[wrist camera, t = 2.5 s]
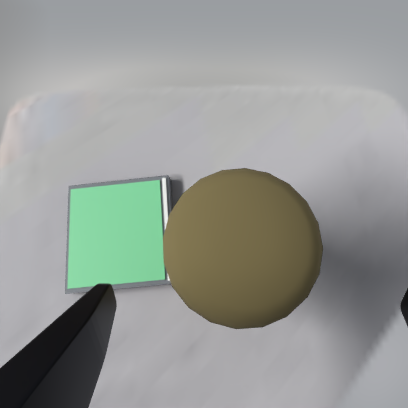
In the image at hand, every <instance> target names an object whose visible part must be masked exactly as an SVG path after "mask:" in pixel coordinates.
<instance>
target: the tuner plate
mask: <svg viewBox="0 0 408 408" xmlns="http://www.w3.org/2000/svg"><path fill="white" fill-rule="evenodd" d="M171 211H172V198H171V183H170V178H169V176H168V175H167V176H158V177H148V178H139V179H130V180H120V181H111V182H101V183H92V184H82V185H73V186H69V193H68V222H67V251H66V279H65V294H69V293H80V292H88V291H89V290H90V289H91V288H93V287H94V286H95V285H96V284H99V283H109V284H111V285H112V287H113V289H122V288H133V287H143V286H154V285H164V284H171V282H170V279H169V276H168V274H167V271H166V268H165V265H164V259H163V236H164V232H165V229H166V225H167V221H168V218H169V214H170V212H171Z"/></svg>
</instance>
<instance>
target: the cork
mask: <svg viewBox="0 0 408 408" xmlns="http://www.w3.org/2000/svg"><path fill="white" fill-rule="evenodd" d="M322 251H323V246H322V241H321V235H320V230H319V224H318V222H317V220H316V218H315V216H314V214H313V212H312V211H311V209H310V207H309V205H308V203H307V201H306V200H305V199H304V198H303V197H302V196H301V195H300V194H299V193H298V192H297V191H296V190H295V189H294V188H293V187H292V186H291V185H290V184H288V183H286V182H284V181H282V180H280V179H279V178H277V177H275V176H273V175H271V174H269V173H266V172H261V171H256V170H251V169H246V168H242V169H231V170H222V171H219V172H217V173H214V174H212V175H209V176H207V177H204V178H202V179H200V180H199V181H198V182H196V183H195V184H194V185H193V186H191V187H190V188H189V189H188V190H187V191H185V192H184V193H183V194H182V196H181V197H180V199H179V200H178V202H177V203H176V205H175V206H174V208H173V209H172V211H171V212H170V214H169V218H168V221H167V225H166V229H165V232H164V236H163V259H164V265H165V268H166V271H167V274H168V276H169V279H170V282H171V285H172V287H173V288H174V290H175V291H176V292H177V293H178V295H179V296H180V297H181V299H182V300H183V301H184V302H185V304H186V305H187V306H188V307H189V308H190V309H192V310H193V311H195V312H196V313H198V314H199V315H200V316H202V317H203V318H205V319H206V320H208V321H209V322H212V323H216V324H219V325H223V326H227V327H230V328H234V329H244V328H258V327H264V326H266V325H269V324H271V323H273V322H276V321H278V320H280V319H282V318H285V317H287V316H288V315H289V314H290V313H291V312H292V311H293V310H294V309H295V308H296V307H297V306H299V305H300V304H301V303H302V302H303V301H304V300H305V299H306V298H307V297H308V295H309V293H310V291H311V289H312V287H313V285H314V283H315V281H316V279H317V277H318V275H319V273H320V266H321V259H322Z"/></svg>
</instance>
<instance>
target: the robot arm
mask: <svg viewBox="0 0 408 408" xmlns="http://www.w3.org/2000/svg"><path fill="white" fill-rule="evenodd" d="M115 312H116V299H115V295H114V291H113V287H112V285H111V284H109V283H99V284H96V285H95V286H94V287H93V288H91V289H90V290H89V291H88V292H87V293H86V294H85V295H83V296H82V297H81V298H80V299H79V300H78V301H77V302H75V303H74V304H73V305H72V306H71V307H70V308H69V309H67V310H66V311H65V312H64V313H63V314H62V315H61V316H59V317H58V318H57V319H56V320H55V321H54V322H53V323H51V324H50V325H49V326H48V327H47V328H46V329H45V330H43V331H42V332H41V333H40V334H39V335H38V336H37V337H35V338H34V339H33V340H32V341H31V342H30V343H29V344H27V345H26V346H25V347H24V348H23V349H22V350H21V351H19V352H18V353H17V354H16V355H15V356H14V357H13V358H11V359H10V360H9V361H8V362H7V363H6V364H5V365H3V366H2V367H1V368H0V408H88V407H89V404H90V401H91V398H92V395H93V392H94V389H95V386H96V383H97V380H98V377H99V375H100V372H101V369H102V366H103V362H104V359H105V355H106V351H107V347H108V343H109V338H110V334H111V329H112V325H113V320H114V316H115ZM401 312H402V314H403V316H404V319H405V321H406V323H407V326H408V288H407V291H406V293H405V295H404V297H403V299H402V301H401Z"/></svg>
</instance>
